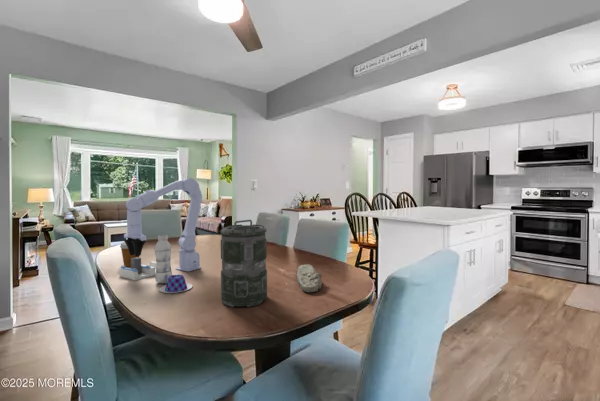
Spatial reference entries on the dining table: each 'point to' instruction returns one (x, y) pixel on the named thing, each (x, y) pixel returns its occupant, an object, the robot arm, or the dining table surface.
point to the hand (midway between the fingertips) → (135, 255)
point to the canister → (243, 265)
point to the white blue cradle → (133, 273)
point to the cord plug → (136, 264)
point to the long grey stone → (308, 278)
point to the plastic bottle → (163, 259)
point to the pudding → (175, 284)
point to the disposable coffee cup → (126, 255)
